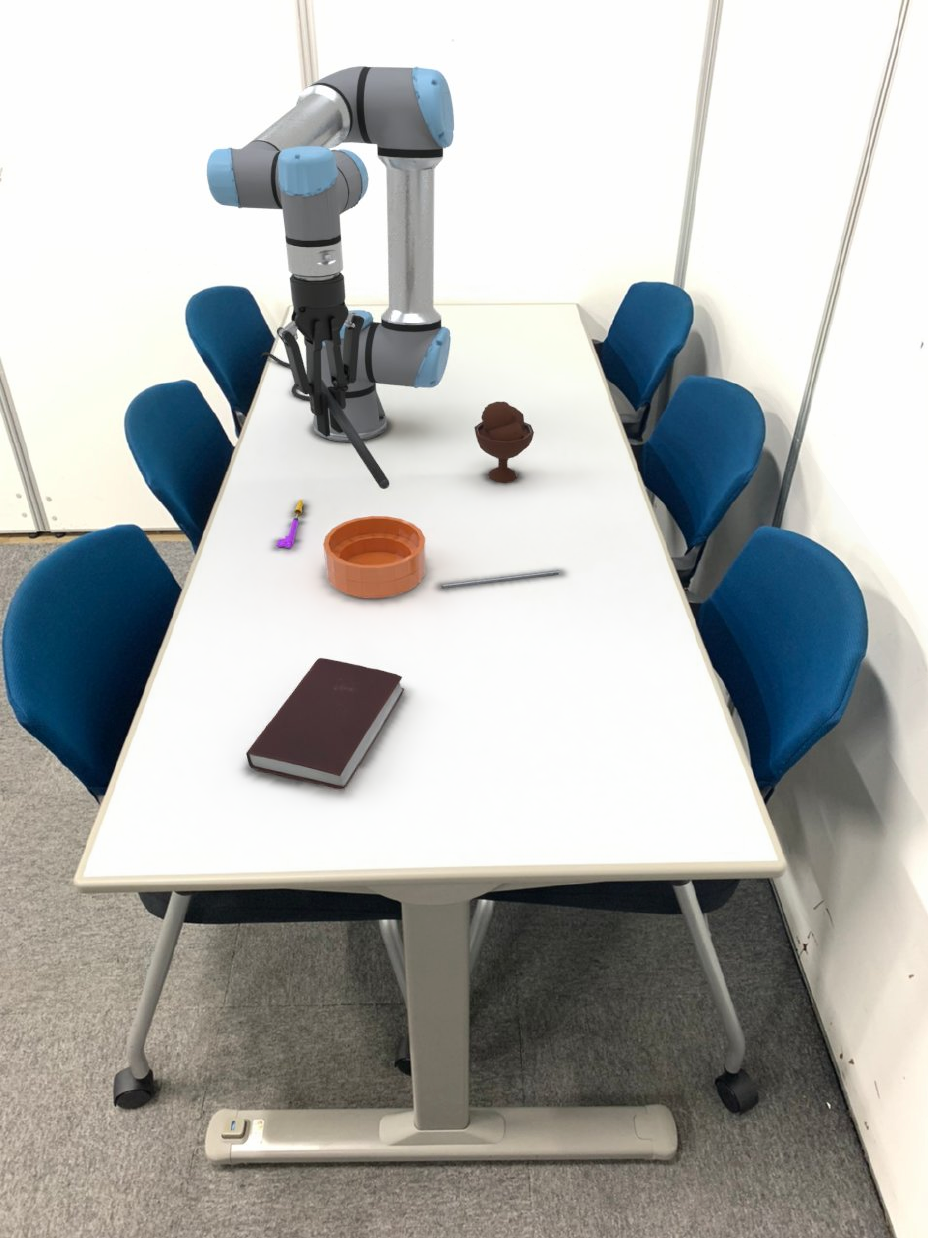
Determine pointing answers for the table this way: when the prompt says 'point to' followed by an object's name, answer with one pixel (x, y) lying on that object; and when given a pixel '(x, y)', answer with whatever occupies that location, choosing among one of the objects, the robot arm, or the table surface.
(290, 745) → the book
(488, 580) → the rod
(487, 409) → the ice cream bowl
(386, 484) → the stick
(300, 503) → the purple gold bent tool
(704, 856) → the table surface
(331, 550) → the bowl
